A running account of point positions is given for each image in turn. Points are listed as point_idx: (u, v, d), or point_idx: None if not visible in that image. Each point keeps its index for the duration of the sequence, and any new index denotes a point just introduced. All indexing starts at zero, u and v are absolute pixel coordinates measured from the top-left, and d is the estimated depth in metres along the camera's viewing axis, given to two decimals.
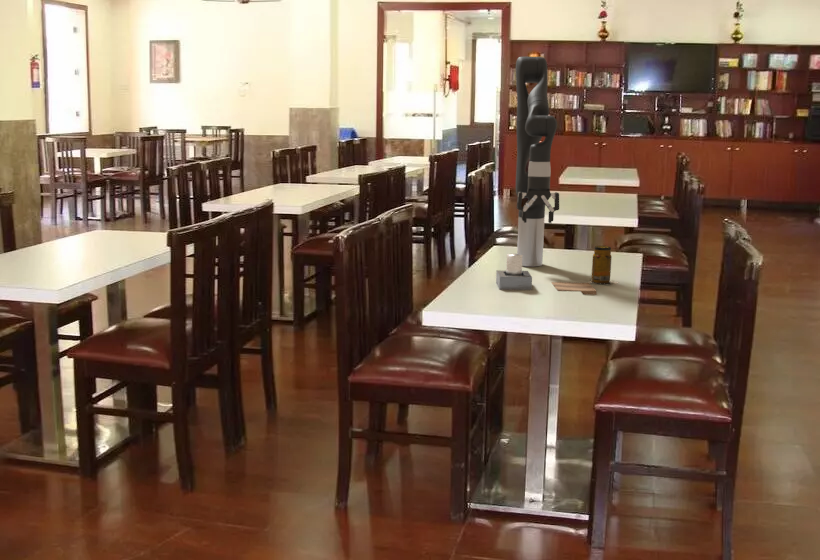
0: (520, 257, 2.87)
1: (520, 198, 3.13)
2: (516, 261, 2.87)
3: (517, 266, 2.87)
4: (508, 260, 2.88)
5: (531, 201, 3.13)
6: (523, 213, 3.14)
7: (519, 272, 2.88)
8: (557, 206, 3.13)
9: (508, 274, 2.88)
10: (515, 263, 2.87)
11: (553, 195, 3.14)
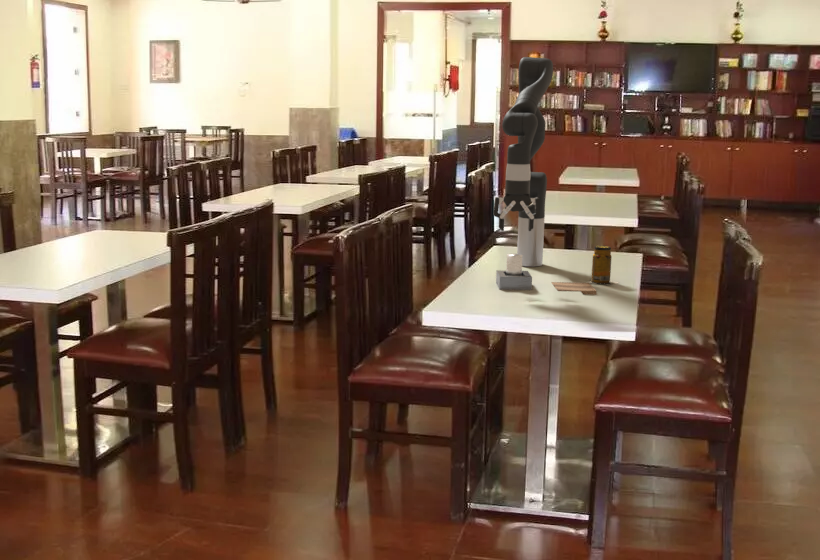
0: (520, 257, 2.87)
1: (497, 204, 2.84)
2: (516, 261, 2.87)
3: (517, 266, 2.87)
4: (508, 260, 2.88)
5: (509, 207, 2.84)
6: (500, 220, 2.86)
7: (519, 272, 2.88)
8: (537, 213, 2.85)
9: (508, 274, 2.88)
10: (515, 263, 2.87)
11: (533, 201, 2.85)
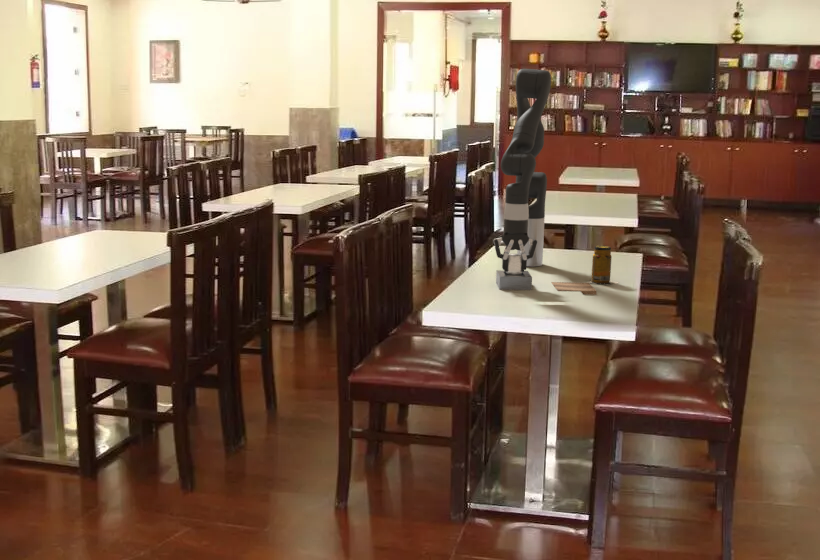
0: (520, 257, 2.87)
1: (497, 246, 2.87)
2: (516, 261, 2.87)
3: (517, 266, 2.87)
4: (508, 260, 2.88)
5: (509, 247, 2.86)
6: (503, 261, 2.88)
7: (519, 272, 2.88)
8: (530, 254, 2.87)
9: (508, 274, 2.88)
10: (515, 263, 2.87)
11: (531, 241, 2.87)
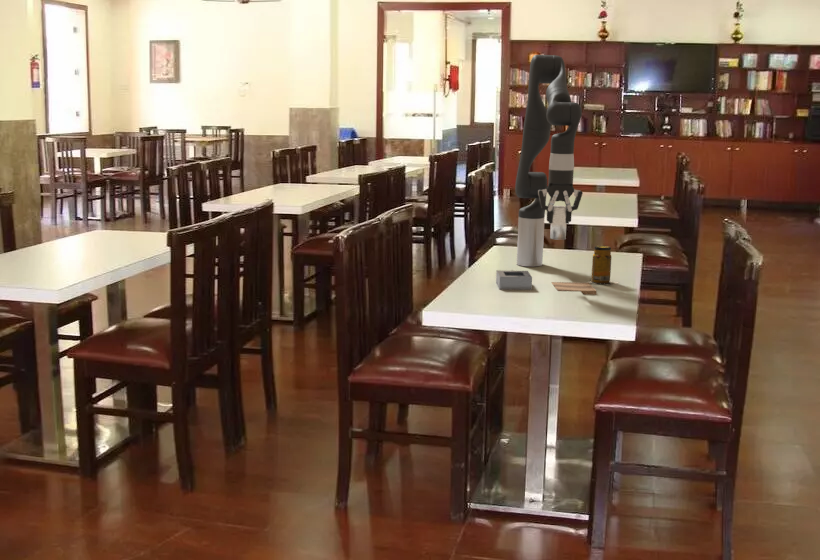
0: (565, 208, 2.84)
1: (542, 197, 2.84)
2: (561, 213, 2.84)
3: (561, 217, 2.84)
4: (553, 212, 2.85)
5: (554, 198, 2.83)
6: (548, 213, 2.85)
7: (564, 224, 2.85)
8: (575, 205, 2.84)
9: (552, 226, 2.85)
10: (559, 215, 2.84)
11: (576, 192, 2.84)
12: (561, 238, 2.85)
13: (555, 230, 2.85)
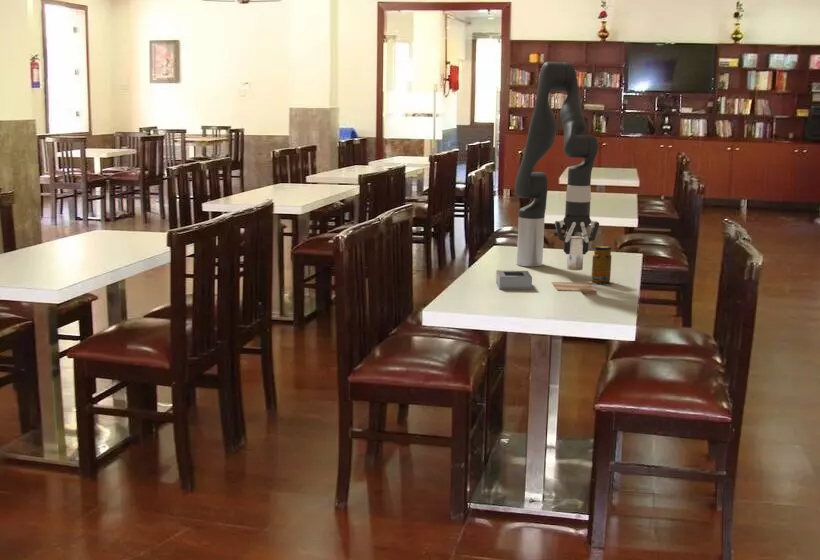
0: (582, 239, 2.86)
1: (559, 228, 2.86)
2: (578, 244, 2.86)
3: (579, 248, 2.86)
4: (570, 242, 2.87)
5: (571, 229, 2.85)
6: (565, 244, 2.87)
7: (581, 255, 2.87)
8: (592, 236, 2.87)
9: (570, 257, 2.87)
10: (577, 246, 2.86)
11: (592, 223, 2.87)
12: (578, 269, 2.87)
13: (572, 261, 2.87)
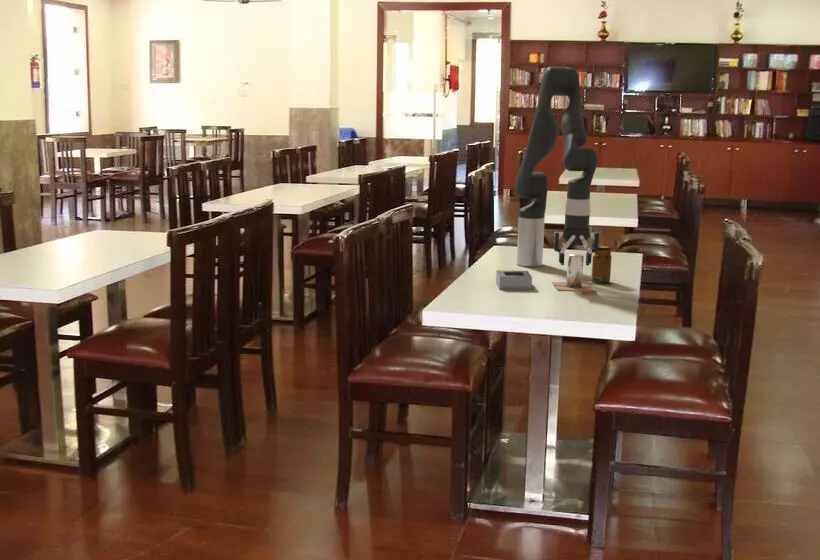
0: (582, 257, 2.87)
1: (557, 239, 2.87)
2: (578, 261, 2.87)
3: (578, 266, 2.87)
4: (569, 260, 2.88)
5: (569, 242, 2.86)
6: (560, 255, 2.88)
7: (580, 272, 2.88)
8: (596, 247, 2.87)
9: (569, 274, 2.89)
10: (576, 264, 2.87)
11: (592, 235, 2.87)
12: (577, 286, 2.89)
13: (572, 279, 2.88)
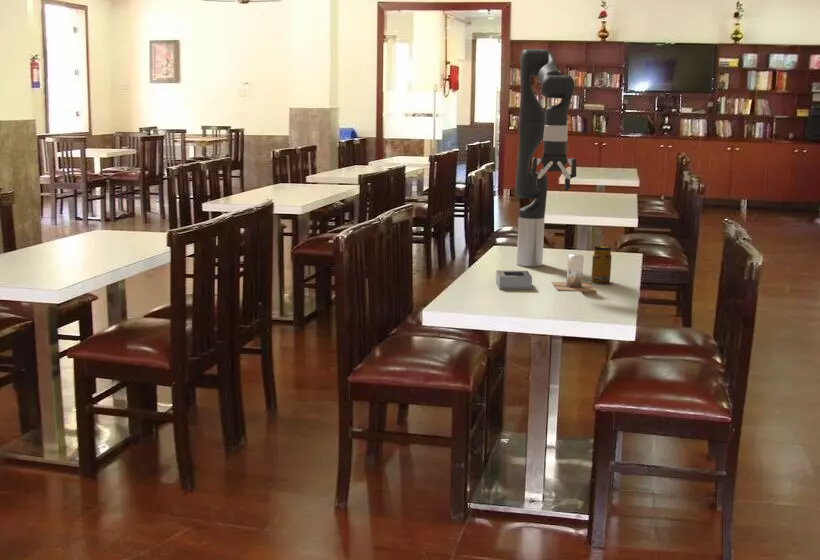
0: (581, 257, 2.87)
1: (535, 164, 2.94)
2: (578, 261, 2.87)
3: (578, 266, 2.87)
4: (569, 260, 2.88)
5: (546, 167, 2.93)
6: (538, 180, 2.95)
7: (580, 272, 2.88)
8: (574, 173, 2.94)
9: (569, 274, 2.89)
10: (576, 264, 2.87)
11: (570, 161, 2.94)
12: (577, 286, 2.89)
13: (572, 279, 2.88)
